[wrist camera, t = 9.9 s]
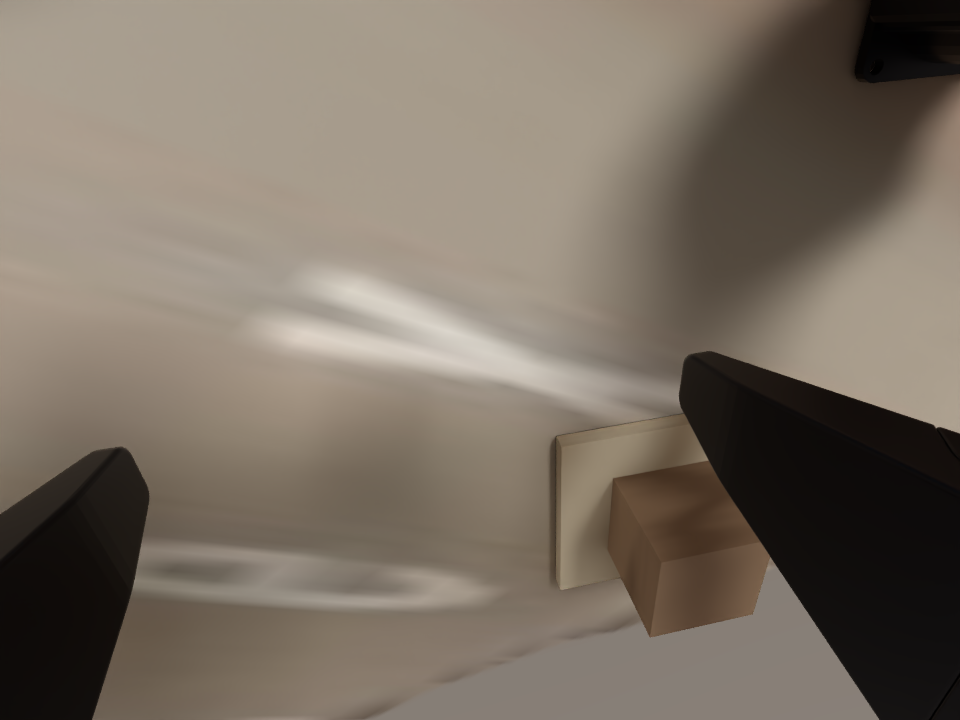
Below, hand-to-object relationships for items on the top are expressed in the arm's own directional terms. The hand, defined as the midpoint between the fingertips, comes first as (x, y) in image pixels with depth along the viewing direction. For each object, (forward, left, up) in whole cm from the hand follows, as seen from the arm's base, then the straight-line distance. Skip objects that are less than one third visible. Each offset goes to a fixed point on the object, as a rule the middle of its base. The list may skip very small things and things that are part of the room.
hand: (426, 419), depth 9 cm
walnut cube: (-11, +16, -11) cm, 22 cm away
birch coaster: (-11, +16, -12) cm, 23 cm away
